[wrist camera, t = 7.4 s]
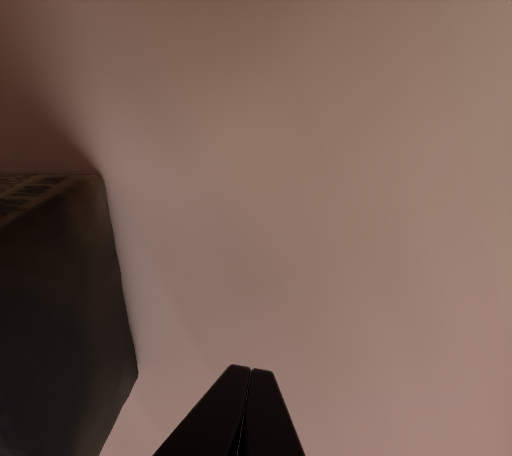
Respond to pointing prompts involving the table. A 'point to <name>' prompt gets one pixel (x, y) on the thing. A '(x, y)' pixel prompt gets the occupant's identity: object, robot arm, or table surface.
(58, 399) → the beverage carton
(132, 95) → the table surface
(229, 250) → the table surface
